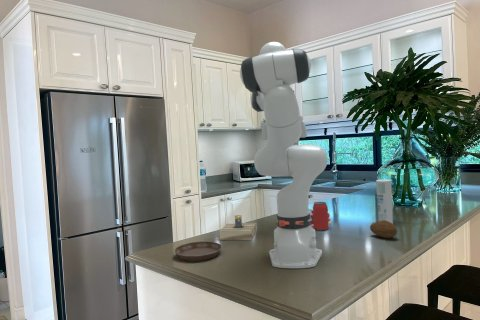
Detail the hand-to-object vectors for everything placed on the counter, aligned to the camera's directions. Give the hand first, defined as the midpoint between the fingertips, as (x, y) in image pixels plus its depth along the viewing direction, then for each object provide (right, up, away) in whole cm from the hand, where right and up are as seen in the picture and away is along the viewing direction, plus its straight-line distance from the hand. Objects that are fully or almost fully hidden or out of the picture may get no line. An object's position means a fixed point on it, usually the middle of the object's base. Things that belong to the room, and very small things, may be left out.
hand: (284, 149), depth 161 cm
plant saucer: (-36, -41, -26) cm, 61 cm away
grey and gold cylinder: (-21, -39, -2) cm, 44 cm away
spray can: (+47, -34, +3) cm, 58 cm away
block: (-21, -39, -2) cm, 44 cm away
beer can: (+17, -36, +1) cm, 40 cm away
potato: (+37, -36, -19) cm, 55 cm away
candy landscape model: (+11, -36, +16) cm, 41 cm away
